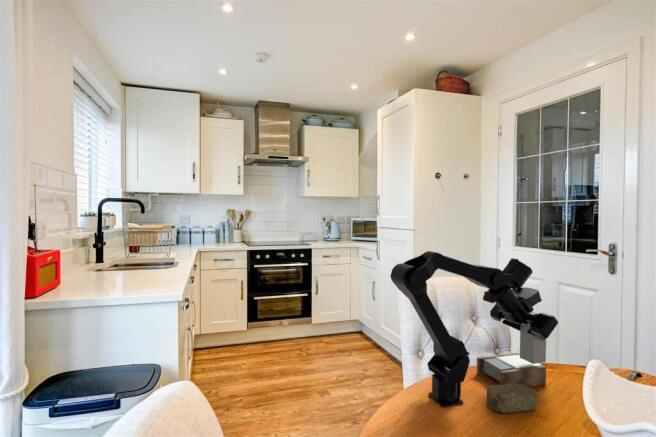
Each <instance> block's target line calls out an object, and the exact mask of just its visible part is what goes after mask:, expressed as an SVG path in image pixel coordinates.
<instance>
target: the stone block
mask: <svg viewBox="0 0 656 437" xmlns="http://www.w3.org/2000/svg"><path fill="white" fill-rule="evenodd" d="M538 399H539V396H538V392H537V391H536V390H535V389H533V388H531V387H528V386H526V385H524V384H519V383H518V384H506V385H500V384H497V385H494V384H493V385H488V386H486V404H487V406H488V407H489V408H491V409H492V410H495V412H497V413H501V414H512V413H520V412H521V413H523V412H530V411H531V412H532V411H534V410H536V409H537V406H538V402H539V400H538Z"/></svg>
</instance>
